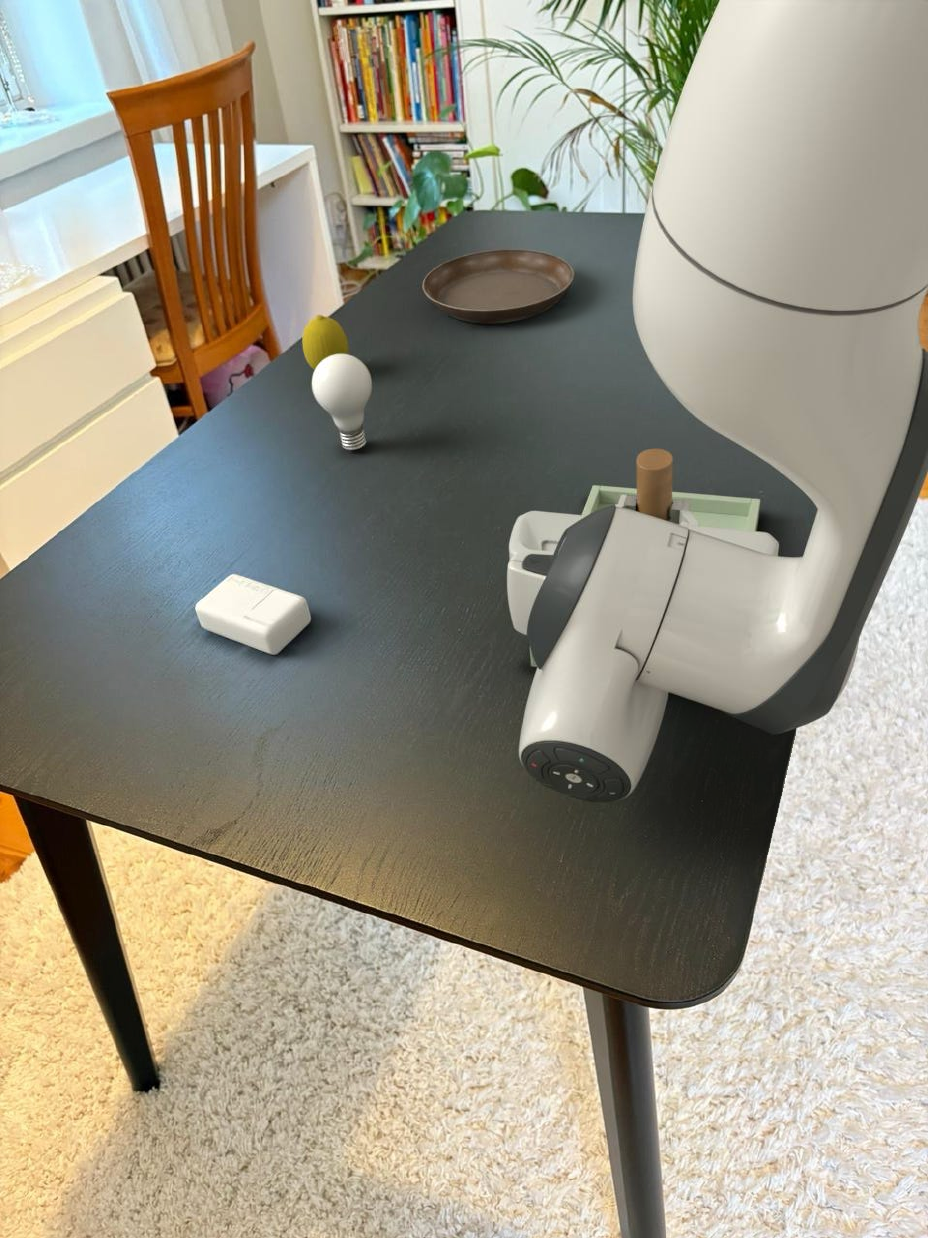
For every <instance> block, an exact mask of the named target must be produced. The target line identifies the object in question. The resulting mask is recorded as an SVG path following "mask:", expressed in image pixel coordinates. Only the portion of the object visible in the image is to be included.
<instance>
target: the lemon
mask: <svg viewBox="0 0 928 1238" xmlns="http://www.w3.org/2000/svg"><path fill="white" fill-rule="evenodd" d="M301 342H302V352H303V354H304V358H305V360H306V362H307V364H308V365H309V366H310V368H311V369H313V370H315V369H316V367H317V365H318V364H319V363H320V362H321V361H322V360H323V359H325V358H326V357H328V356H330V355H334V354H349V341H348V338H347V335H346V333H345V332H344V329H343V327H342V326H341V324H340V323H339V322H338V321H337V320H335V319H334V318H332V317H329V316H323V315H322V314H317V315H316V316H315V317H314V318H312V319H310V320H309V322H308V323H307V324H306V325H305V326H304V329H303V332H302V340H301Z"/></svg>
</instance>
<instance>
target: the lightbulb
mask: <svg viewBox="0 0 928 1238" xmlns="http://www.w3.org/2000/svg"><path fill="white" fill-rule="evenodd" d="M313 370H314V369H313ZM311 391H312V394H313V396H314V400H316V402H317V403H318V405H319V406H320V407H321V408H322V409H323V410H324V411H325V412H327V413H328V415H330V417H331V418H332V421H333V423H334V425H335V426H336V428H337V429H338V432H339V436H340V441H341V445H342V448H343V449H345V450H348V451H354V452H356V451H358V450H360V449H361V448H363V447H365V445H366V444H367V439H366V433H365V429H364V421H365V409H366V407H367V404H368V402H369V400H370V398H371V395H372V392H373V379H372V375H371V372H370V370H369V368H368V367H367V365H366V364H365V363H364V362H363V361H362V360H361V359H359V358H358V357H356V356H354V355H351V354H349V353H348V354H334V355H330V356H328V357H326V358H325V359H323V360H322V361H321V362H320V363H319V364H318V365H317V367H316V369H315V370H314V371H313V373H312V377H311Z"/></svg>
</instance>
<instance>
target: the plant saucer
mask: <svg viewBox="0 0 928 1238" xmlns="http://www.w3.org/2000/svg"><path fill="white" fill-rule="evenodd" d="M572 266H573V265H571V264H570V263H569V262H568V261H567V260H566V259H564V258H562V257H560V256H557V255H555V254H552V253H549V252H545V251H540V250H534V249H524V248H523V249H521V248H504V249H503V248H501V249H490V250H484V251H478V252H472V253H469V254H468V253H467V254H464V255H461V256H458V257H455V258H452V259H450V260H448V261H445V262H443V263H441V264H439V265H438V266H436V267H434V268H433V269H432V270H430V272H428V273H427V274H426V276H425V277H424V279H423V281H422V290H423V292H424V295H425V296H426V297H427V299H429V301H430V302H431V303H432V304H434V306H435V307H436V308H438V309H439V310H440V311H441V312H442V313H444V314H446V315H447V316H450V317H451V318H454V319H457V320H460V321H463V322H467V323H473V324H485V325H487V324H490V325H491V324H506V323H512V322H518V321H522V320H525V319H530V318H533V317H535V316H538V315H539V314H541V313H544V312H545V311H547V310H549V309H550V308H552V307H553V306H554V305H555V304H557V303H558V302H559V301H560V300H561V299H562V297H564V295H565V294H566V292H567V291H568V290H569V287H570V286H571V285H572V283H573V282H574V281H573V280H574V278H575V271H574V268H573V267H572Z"/></svg>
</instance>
